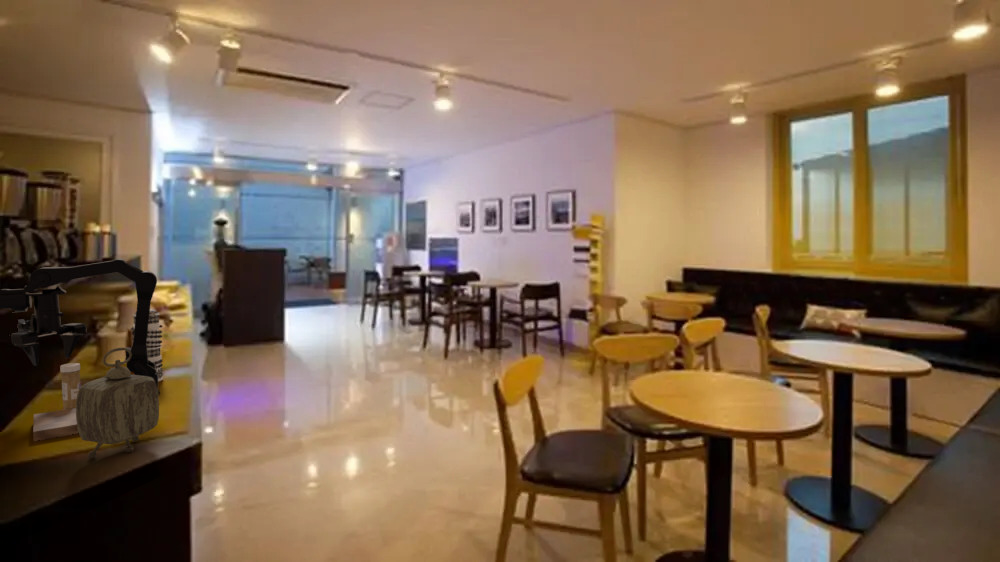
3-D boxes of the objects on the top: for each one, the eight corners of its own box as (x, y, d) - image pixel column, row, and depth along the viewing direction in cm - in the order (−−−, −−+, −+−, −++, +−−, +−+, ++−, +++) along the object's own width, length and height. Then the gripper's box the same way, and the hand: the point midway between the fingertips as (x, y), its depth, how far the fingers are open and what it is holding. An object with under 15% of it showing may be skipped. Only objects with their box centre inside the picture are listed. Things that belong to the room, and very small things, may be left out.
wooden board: (123, 408, 161) (122, 400, 161) (130, 424, 149) (129, 415, 148) (34, 423, 149) (33, 414, 148) (33, 441, 136) (33, 431, 136)
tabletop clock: (136, 438, 139) (132, 341, 137) (164, 442, 136) (160, 343, 134) (78, 460, 125) (72, 353, 123) (108, 466, 122) (102, 356, 120)
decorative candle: (142, 377, 196) (139, 308, 194) (169, 376, 197) (166, 308, 195) (127, 384, 187) (124, 311, 185) (156, 383, 188) (153, 311, 186)
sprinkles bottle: (81, 410, 160) (79, 364, 159) (61, 412, 157) (59, 366, 156) (83, 405, 164) (80, 361, 163) (63, 408, 161) (61, 363, 160)
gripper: (57, 304, 172) (62, 353, 174) (-10, 314, 154) (-4, 368, 156) (85, 305, 170) (90, 355, 171) (21, 315, 152) (26, 370, 153)
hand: (52, 361), depth 163 cm, fingers open, 9 cm apart
